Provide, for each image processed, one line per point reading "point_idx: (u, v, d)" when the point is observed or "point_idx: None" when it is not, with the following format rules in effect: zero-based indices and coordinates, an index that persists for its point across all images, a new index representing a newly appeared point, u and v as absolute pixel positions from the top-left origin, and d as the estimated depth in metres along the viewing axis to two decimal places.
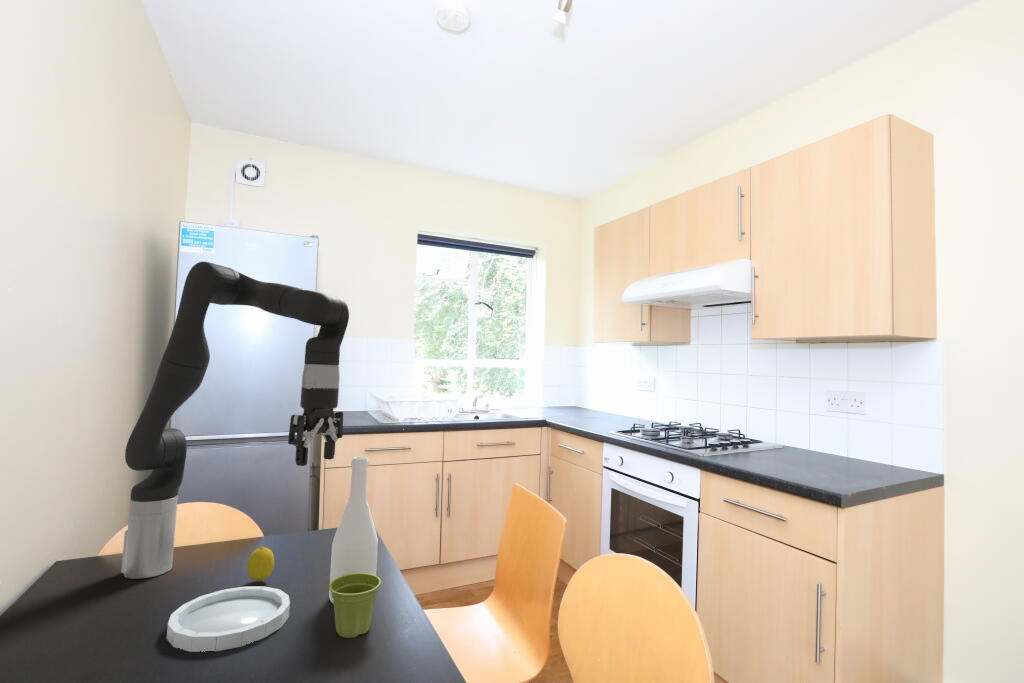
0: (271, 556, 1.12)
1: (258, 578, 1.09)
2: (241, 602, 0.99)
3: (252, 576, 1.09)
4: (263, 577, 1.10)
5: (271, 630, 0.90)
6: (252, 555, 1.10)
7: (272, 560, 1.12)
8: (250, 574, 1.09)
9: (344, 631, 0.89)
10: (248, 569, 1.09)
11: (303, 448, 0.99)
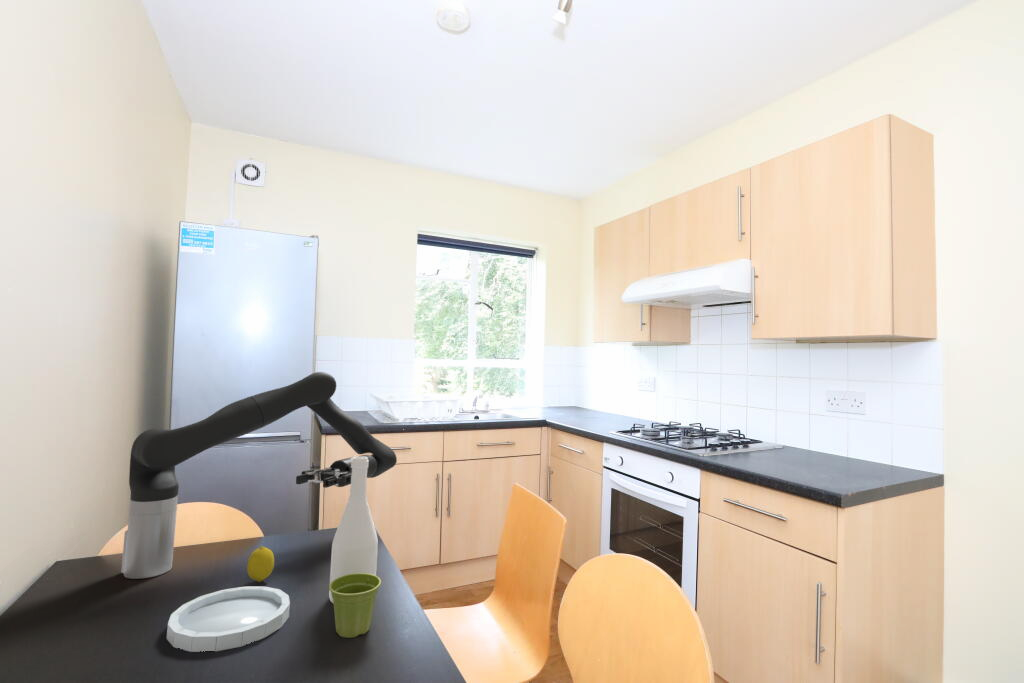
0: (271, 556, 1.12)
1: (258, 578, 1.09)
2: (241, 602, 0.99)
3: (252, 576, 1.09)
4: (263, 577, 1.10)
5: (271, 630, 0.90)
6: (252, 555, 1.10)
7: (272, 560, 1.12)
8: (250, 574, 1.09)
9: (344, 631, 0.89)
10: (248, 569, 1.09)
11: None
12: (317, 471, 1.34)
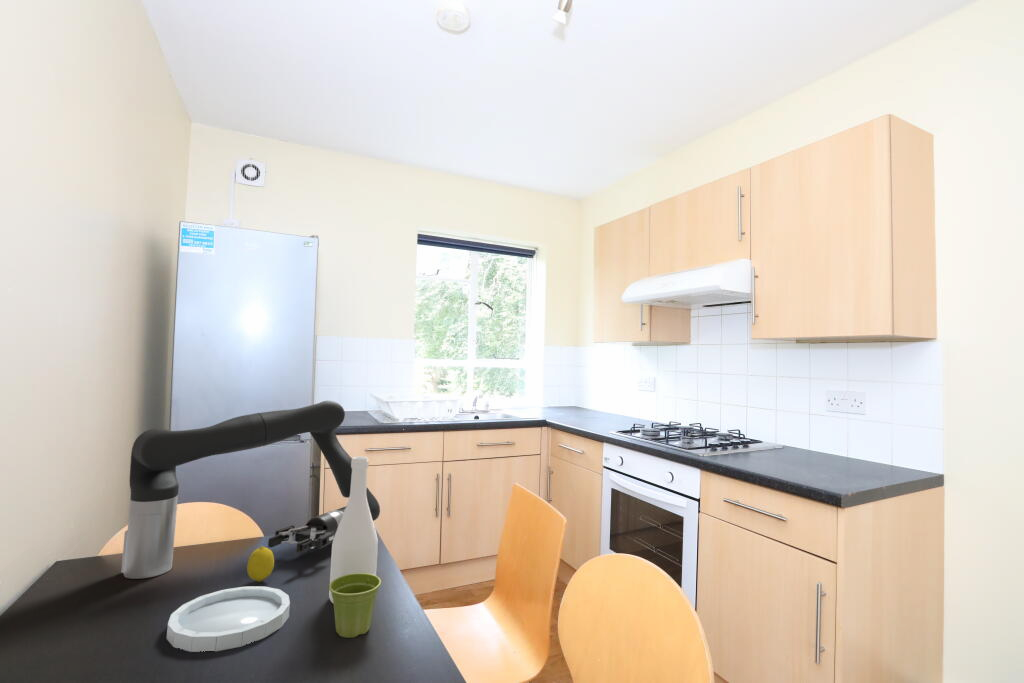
0: (271, 556, 1.12)
1: (258, 578, 1.09)
2: (241, 602, 0.99)
3: (252, 576, 1.09)
4: (263, 577, 1.10)
5: (271, 630, 0.90)
6: (252, 555, 1.10)
7: (272, 560, 1.12)
8: (250, 574, 1.09)
9: (344, 631, 0.89)
10: (248, 569, 1.09)
11: None
12: (292, 531, 1.25)
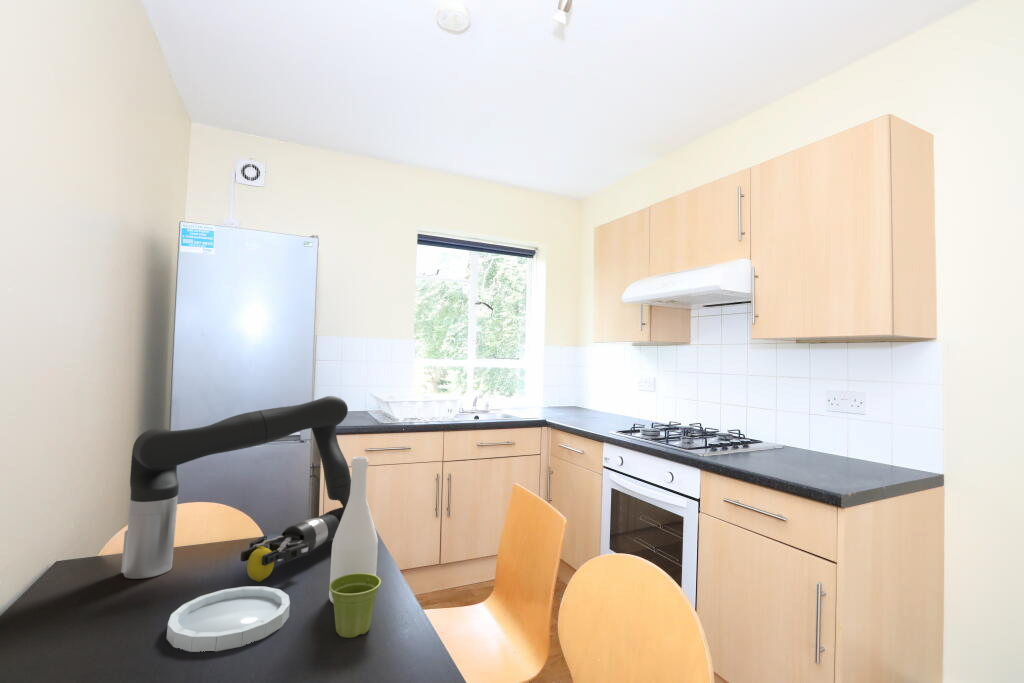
0: None
1: (258, 578, 1.09)
2: (241, 602, 0.99)
3: (252, 576, 1.09)
4: (263, 577, 1.10)
5: (271, 630, 0.90)
6: (252, 555, 1.10)
7: None
8: (250, 574, 1.09)
9: (344, 631, 0.89)
10: (248, 569, 1.09)
11: None
12: (267, 542, 1.16)
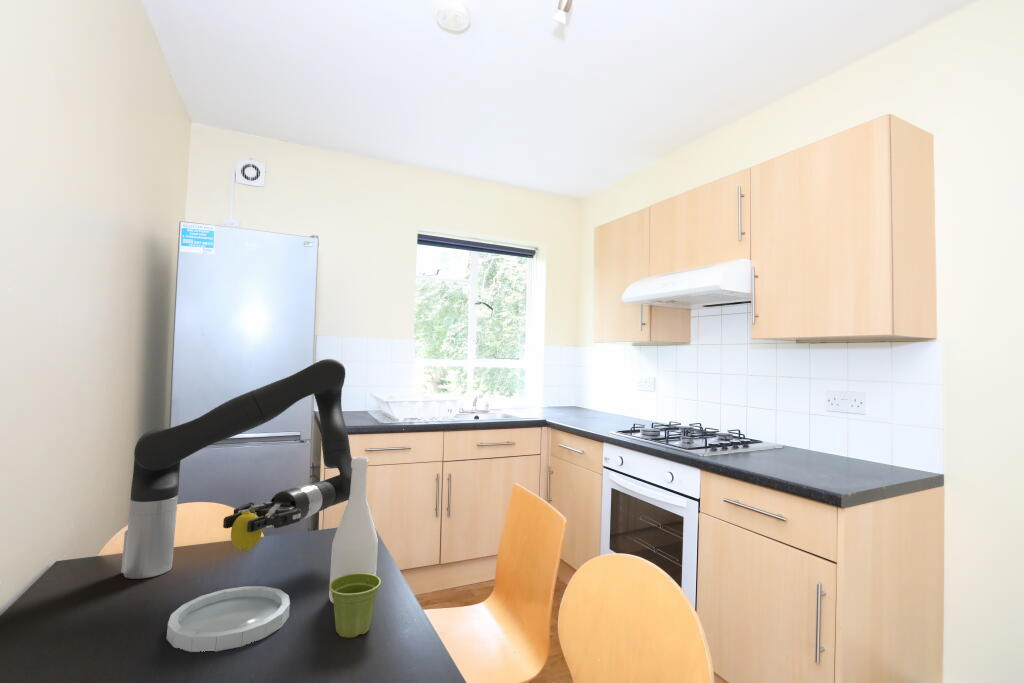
0: None
1: (243, 546, 0.96)
2: (241, 602, 0.99)
3: (236, 544, 0.96)
4: (249, 545, 0.97)
5: (271, 630, 0.90)
6: (236, 521, 0.97)
7: None
8: (234, 542, 0.96)
9: (344, 631, 0.89)
10: (232, 536, 0.96)
11: None
12: (254, 508, 1.03)
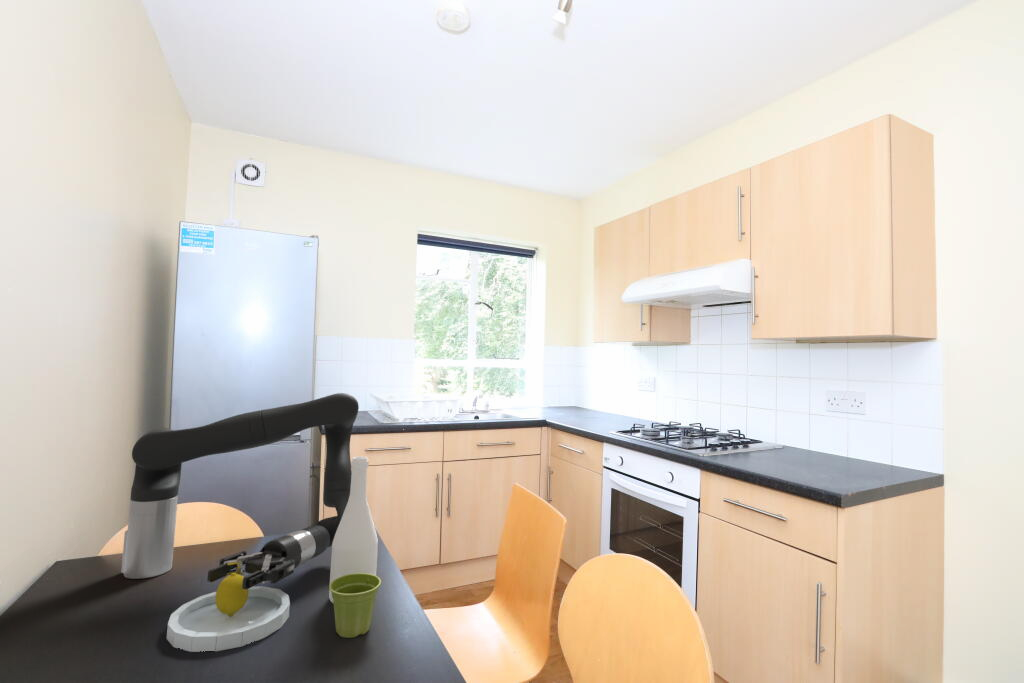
0: None
1: (228, 611, 0.92)
2: None
3: (221, 609, 0.92)
4: (235, 610, 0.92)
5: (271, 630, 0.90)
6: (221, 584, 0.93)
7: None
8: (219, 607, 0.92)
9: (344, 631, 0.89)
10: (216, 601, 0.92)
11: None
12: (241, 559, 0.99)
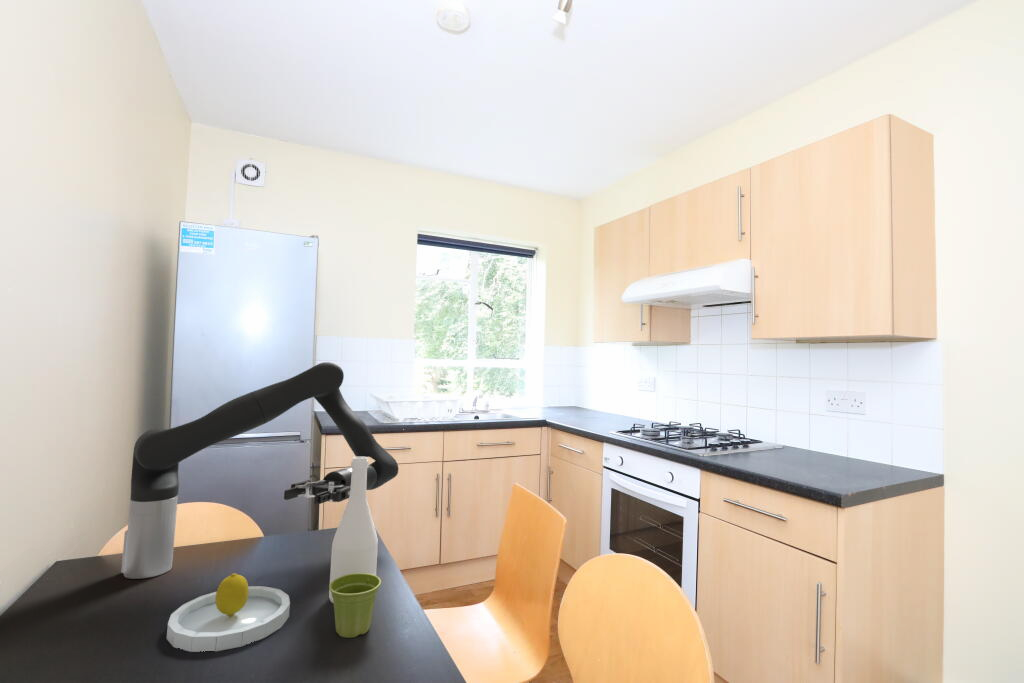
0: (245, 585, 0.94)
1: (229, 612, 0.92)
2: None
3: (221, 610, 0.91)
4: (235, 611, 0.92)
5: (271, 630, 0.90)
6: (221, 584, 0.92)
7: (246, 590, 0.94)
8: (219, 607, 0.91)
9: (344, 631, 0.89)
10: (216, 601, 0.92)
11: None
12: (309, 484, 1.18)
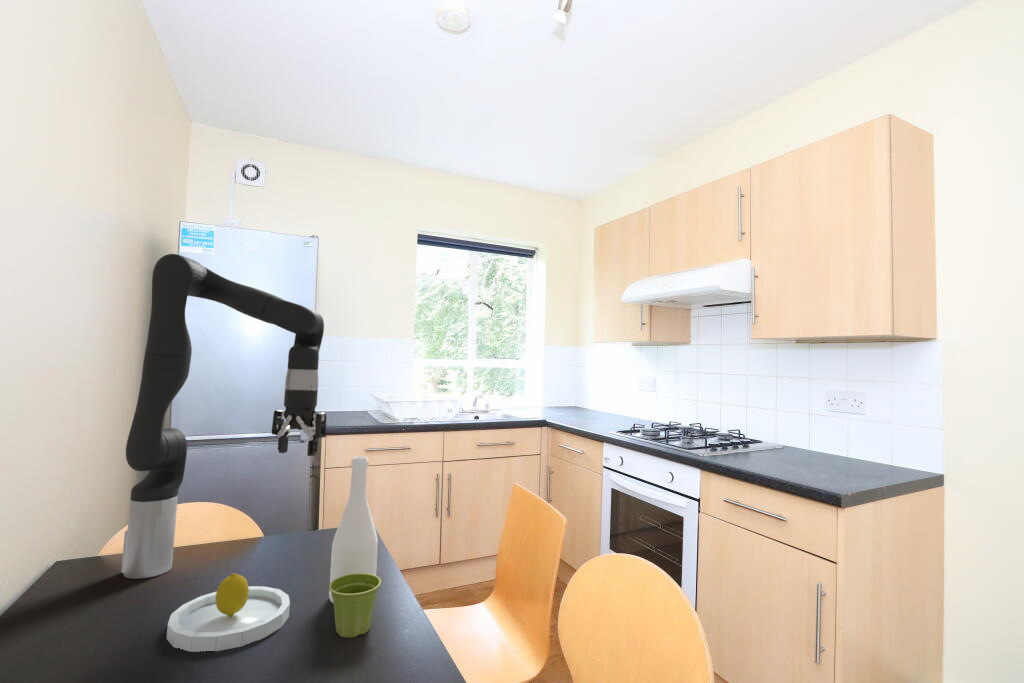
0: (245, 585, 0.94)
1: (229, 612, 0.92)
2: None
3: (221, 610, 0.91)
4: (235, 611, 0.92)
5: (271, 630, 0.90)
6: (222, 584, 0.92)
7: (246, 590, 0.94)
8: (219, 607, 0.91)
9: (344, 631, 0.89)
10: (217, 601, 0.92)
11: None
12: (285, 429, 1.19)
